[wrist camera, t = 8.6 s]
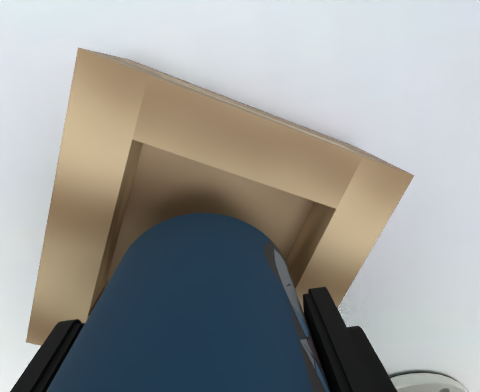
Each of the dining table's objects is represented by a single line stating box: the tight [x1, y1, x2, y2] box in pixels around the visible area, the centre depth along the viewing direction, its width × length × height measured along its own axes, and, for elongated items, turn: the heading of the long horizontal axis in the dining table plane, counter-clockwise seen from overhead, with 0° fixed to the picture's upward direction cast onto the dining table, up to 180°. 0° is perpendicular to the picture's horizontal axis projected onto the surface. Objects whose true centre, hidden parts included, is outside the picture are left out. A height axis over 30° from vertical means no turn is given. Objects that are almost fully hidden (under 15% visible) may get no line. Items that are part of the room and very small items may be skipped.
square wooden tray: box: [26, 48, 414, 346], centre depth 17 cm, size 14×14×6 cm
